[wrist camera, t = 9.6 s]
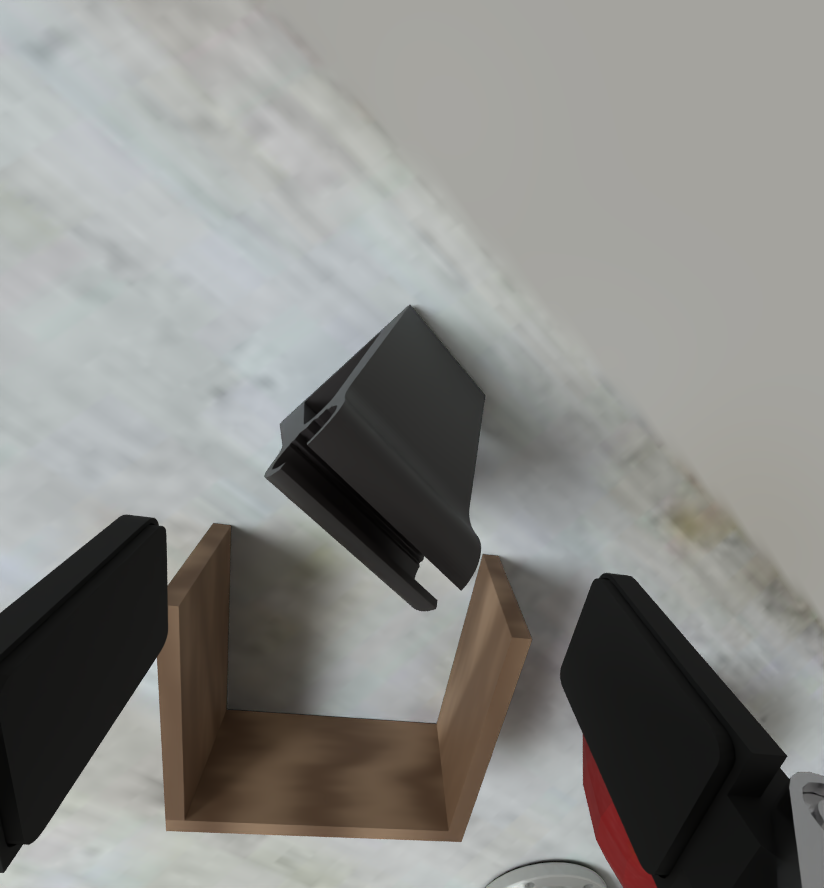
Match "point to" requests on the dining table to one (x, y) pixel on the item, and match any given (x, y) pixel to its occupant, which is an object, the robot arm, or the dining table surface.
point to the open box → (326, 728)
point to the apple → (611, 828)
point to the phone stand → (390, 458)
